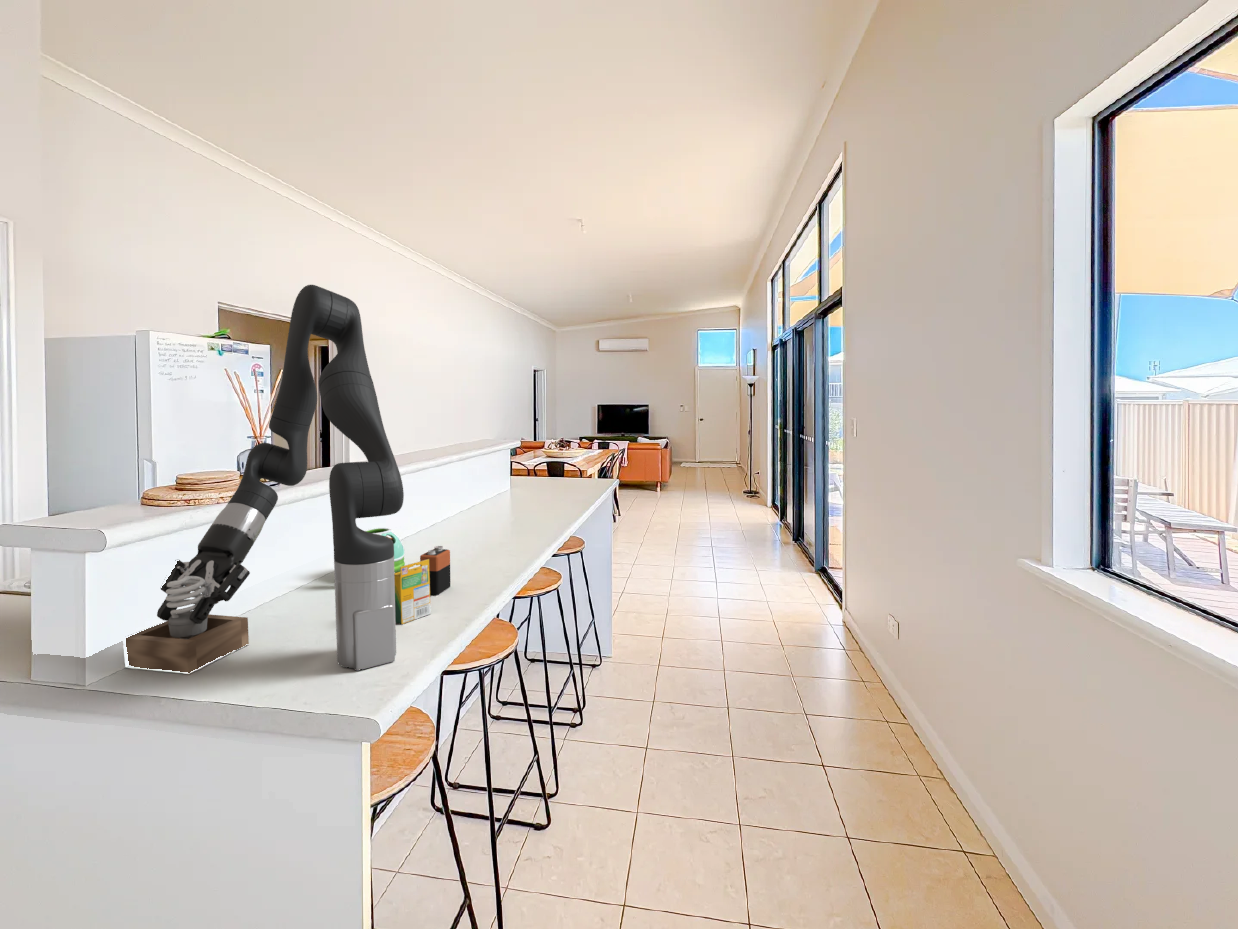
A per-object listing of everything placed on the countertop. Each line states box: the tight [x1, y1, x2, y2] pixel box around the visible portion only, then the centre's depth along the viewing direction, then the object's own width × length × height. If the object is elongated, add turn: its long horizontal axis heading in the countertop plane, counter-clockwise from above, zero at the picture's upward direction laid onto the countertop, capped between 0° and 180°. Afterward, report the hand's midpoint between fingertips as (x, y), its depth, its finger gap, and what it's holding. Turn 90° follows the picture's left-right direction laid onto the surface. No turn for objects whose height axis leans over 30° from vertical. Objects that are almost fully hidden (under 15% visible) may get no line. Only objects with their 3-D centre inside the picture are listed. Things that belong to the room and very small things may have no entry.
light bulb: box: [165, 576, 208, 640], centre depth 99 cm, size 6×6×12 cm
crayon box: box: [394, 559, 432, 625], centre depth 119 cm, size 7×3×12 cm, turn 148°
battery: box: [419, 545, 451, 596], centre depth 136 cm, size 4×7×10 cm, turn 170°
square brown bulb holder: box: [126, 613, 250, 673], centre depth 99 cm, size 12×12×5 cm
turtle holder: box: [364, 527, 406, 573], centre depth 144 cm, size 12×18×12 cm
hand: (178, 619), depth 98 cm, fingers closed on light bulb, 5 cm apart
